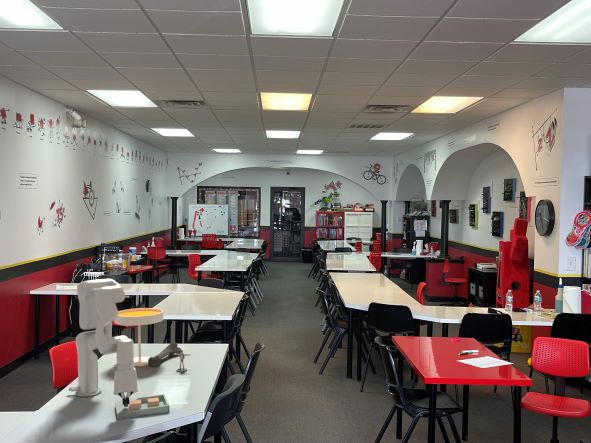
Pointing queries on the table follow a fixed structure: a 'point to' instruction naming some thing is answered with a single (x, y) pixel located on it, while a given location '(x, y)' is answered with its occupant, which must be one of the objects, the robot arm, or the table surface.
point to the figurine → (182, 361)
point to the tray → (147, 410)
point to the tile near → (135, 404)
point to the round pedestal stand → (139, 318)
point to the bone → (164, 354)
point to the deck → (125, 410)
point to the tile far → (153, 402)
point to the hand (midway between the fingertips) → (125, 405)
